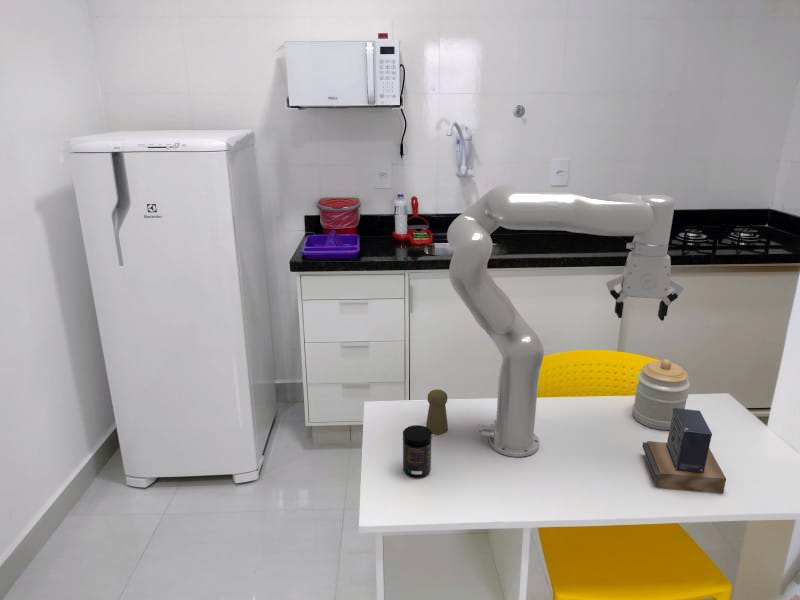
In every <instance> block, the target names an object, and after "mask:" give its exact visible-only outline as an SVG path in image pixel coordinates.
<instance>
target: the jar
mask: <svg viewBox="0 0 800 600" xmlns="http://www.w3.org/2000/svg"><path fill="white" fill-rule="evenodd" d="M688 378H689V374H688V373H687V371H686V370H685V369H683V368H682V366H680V365H678V364H676V363H673V362H672V361H671V360H670V359H667V358H664V359H662V360H655V361H650V362H647V363H645V364H644V365H642V367H641V371H639V372H638V374H637V379H638V382H637V383H636V386H635V395H634V396H635V397H634V403H633V405H632V406H633V407H632V411H633V412H632V415H633V418H634V419H635V420H636V421H637V422H639V424H642V425H644V426H646V427H649V428H651V429H656V430H661V431H669V430H670V425H671V420H672V413H673V408H680V409H686V404H687V400H688V399H689V393H688V389H690V386H691V384H690V383H691V382H690V381H689V379H688Z"/></svg>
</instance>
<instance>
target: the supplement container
mask: <svg viewBox="0 0 800 600" xmlns="http://www.w3.org/2000/svg"><path fill="white" fill-rule="evenodd" d="M432 436H433V434H432V432H431V430H430V429H429V428H427V427H426V425H425V426H424V425H418V424H417V425H410V426H408V427H405V428H404V430H403V431H402V470H403V472H404V474H405V475H406V476H407V477H409V478H413V479H423V478H425V477H427V476H428V475H429V474H430V472H431V470H432V441H433V439H432Z"/></svg>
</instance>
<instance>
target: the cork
mask: <svg viewBox="0 0 800 600" xmlns="http://www.w3.org/2000/svg"><path fill="white" fill-rule="evenodd" d="M427 402H428V410H427V417H426V423H425V427H427V428H429V429H430V430H431V432H432V435H433V434H434V435H433V436H442V435H444V433H445V434H446V433H448V431H449V426H448V425H449V424H448V417H447V407H446V404H447V403H448V394H447V393H446V391H444V390H442V389H432V390H430V391H429V392H428V394H427ZM441 434H442V435H441Z"/></svg>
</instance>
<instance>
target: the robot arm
mask: <svg viewBox="0 0 800 600" xmlns="http://www.w3.org/2000/svg"><path fill="white" fill-rule="evenodd" d="M675 206H676V205H675V200H674V198H673V197H671V196H668V195H664V194H653V193H652V194H644V195H639V194H632V193H631V194H630V193H629V194H628V193H623V192H622V193H619V192H617V193H614V194H613V193H612V194H610V195H608V196H606V197H605V199H603V200H602V199H601V200H600V199H594V198H590V197H587V196H584V195H580V194H577V193H574V192H568V191H552V190H551V191H548V190H547V191H544V190H542V191H541V190H540V191H539V190H536V191H535V190H517V189H516V188H514V187H512V186H511V185H506V184H504V185H503V184H502V185H501V184H500V185H498V186H495V187H493V188H492V189H490V190H489V191H488V192H485V194H484V195H482V196H481V197H480V198H479V199H477V200H476V201H475V202H474V203H473V204H472V205H470V206H469V207H468V208H466V210H465V211H463V212H462V213H461V214H460V215H458V216H457V217H456V218H454V220H453V221H452V222H451V224H450V225H449V226H448V229H447V234H446V238H447V243H448V245H449V247H450V248H451V250H452V251H453V255H452V256H451V259H450V263H449V271H448V272H449V281H450V283H451V286H452V287H453V289H454V292H456V294H457V296H459V298H460V299H461V301H462V302H463V304H464V306H465V307H466V308H467V309H468V311H469V312H470V314H471V315H472V317H473V318H474V320H475V322H476V323H477V324H478V325H479V327H480V328H481V329H482V330H484V331H485V333H486V334H487V335H488V336H489V337H490V339H491V341H492V342H493V344H495V346H496V347H497V349H498V351H499V353H500V355H501V359H502V362H501V366H500V370H499V374H498V383H497V401H496V403H497V404H496V417H495V418H496V419H495V420H494V423H491V424H479V423H477V433H481V437H487V438H488V443H489V445H490V447H491V448H492V449H493V450H495V452H497V453H499V454H501V455H504V456H508V457H514V458H522V457H528V456H530V455H533V454H535V453H536V452H537V451H538V450H539V448H540V439H539V437H538V436H537V435H536V434H535V423H536V412H537V411H536V410H537V401H538V399H537V398H538V389H539V388H538V387H539V380H540V379H539V377H540V373H541V368H542V365H543V360H544V354H545V353H544V352H545V351H544V345H543V342H542V341H541V339H540V337H539V335H538V334H537V333H536V332H535V331H534V329H533V328H532V327H531V326H530V325H529V324H528V323H527V321H526V320H525V319H524V318H523V316H522V315H521V313H520V312H519V311H518V309H517V308H516V307H515V305H514V304H513V302H512V301H511V299H510V298H509V296H508V295H507V294H506V293H505V291H504V290H503V289H502V288H501V287H500V286H498V284H497V283H496V282H495V281H494V279H493V278H492V276H491V274H490V273H489V272H488V271H489V270H488V262H489V260H490V257H491V255H492V251H493V240H492V238H491V234H492V233H493V232H495V231H496V230H497V229H498V228H499V227H502V228H505V229H507V230H515V231H517V230H521V231H522V230H523V231H525V230H527V231H533V230H534V231H537V230H538V231H566V232H570V233H578V234H580V233H581V234H587V235H596V236H605V237H607V236H608V237H633V239H632V242H626V248H625V249H627V250H631V251H629V253H628V256H627V258H626V261H625V264H624V269H623V273H622V275H621V276H617V277H615V278H613V279H611V280H608V281H606V283H605V284H606V287H607V289H608V291H609V293H610V295H611V296H612V298H614V299H615V305H614V314H616V316H617V317H618V319H622V317H623V312H624V311H623V310H624V304H625V303H624V300H625V299H626V298H627V297H630V298H638V299H639V298H642V299H661V300H660V302H659V304H658V305H659V306H658V311H657V317H658V319H659V321H665V317H667V315H668V310H669V306H670V305H671V304H672V302H674V301H675V300H676V299H678V298H679V295H681V293H682V292H683V291H684V289H685V287H683V285H681V284H680V283H678V282H676V281H675V280H673V279H671V269H672V268H671V267H672V266H671V265H672V263H671V262H672V260H671V256H670V255H669V254H668V248H669V242H670V237H671V230H672V224H673V218H674V210H675ZM618 285H620V290H619V291H618V292H617V291H616V290H615V287H616V286H618ZM670 287H671V288H672V289H673V291H672V292H671V293H669V291H670Z"/></svg>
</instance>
